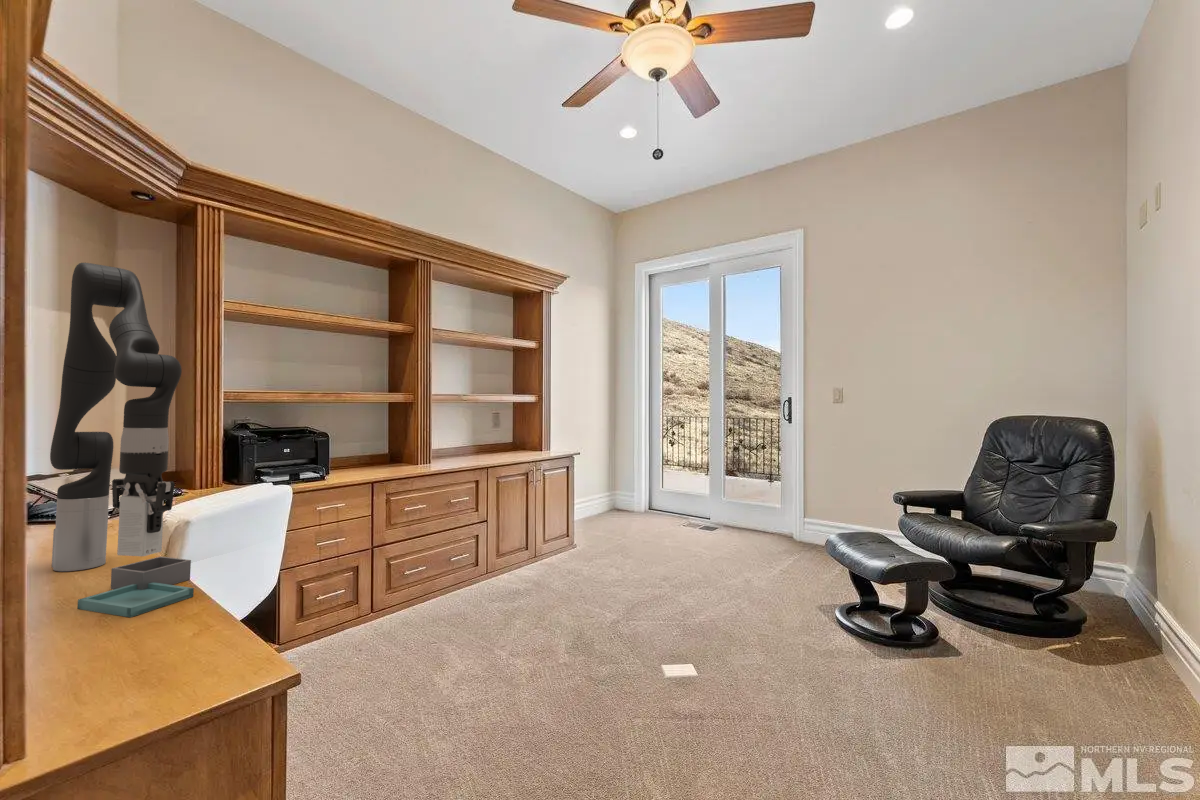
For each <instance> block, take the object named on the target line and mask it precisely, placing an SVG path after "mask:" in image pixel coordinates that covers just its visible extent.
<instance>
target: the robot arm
mask: <svg viewBox="0 0 1200 800" xmlns="http://www.w3.org/2000/svg"><path fill="white" fill-rule="evenodd" d="M94 305H95V306H102V307H111V308H122V310H121V311H120V312H119V313H117V314H116V315H115V316H114V317H113V319H112V320H111V322H110V324H109V329H108V330H109V331H108V332H109V336H110V339H111V341H112V343H113V346H114V349H115V351H114V349H113V348H112V347H111V345H110V343H109V342H108V341H107V340H106V338H105V337H104V336H103V334H102V333H101V331H100V330H99V328H98V326H97V324H96V321H95V319H94V315H93V306H94ZM146 308H147V307H146V305H145V299H144V295H143V290H142V287H141V282H140V280H139V278H138V276H137V275H136V274H135V273H134V272H133V271H131V270H128V269H125V268H121V267H114V266H110V265H109V266H108V265H104V264H98V263H96V264H95V263H89V262H80V263H77V264H76V266H75V268H74V269H73V272H72V277H71V288H70V312H69V313H70V315H69V316H70V317H69V330H68V337H67V343H66V349H65V354H64V359H63V360H64V361H63V365H62V366H63V367H62V376H61V387H60V400H59V405H58V407H59V408H58V413H57V417H56V418H57V419H56V421H55V426H54V432H53V436H52V440H51V446H50V452H49V453H50V455H49V456H50V457H49V458H50V464H51V466H52V467H53V468H54V469H56V470H60V471H63V470H64V471H65V470H86V469H87V470H88V469H89V470H91V472H90V473H89V474H87V475H85V476H83V477H81V478H80V479H77V480H75V481H71V482H68V483H65V484H62V485H59V486H58V488H57V491H56V510H55V512H56V515H55V528H54V529H53V532H52V533H53V534H52V535H53V537H52V553H51V554H52V556H51V568H52V569H53V571H55V572H73V571H83V570H88V569H93V568H97V567H101V566H102V565H105V564H106V561H107V560H106V559H107V547H108V546H107V544H108V542H107V541H108V525H109V524H108V523H109V522H108V521H109V503H110V502H109V501H110V484H111V487H112V488H111V489H112V490H111V491H112V494H111V495H112V496H111V497H112V508H113V509H118V511H119V510H120V496H140V498H142V504H144V503H146V504H147V511H148V514H149V515H147V533H155V532H159V531H160V530H161V524H162V513H163V514H164V513H165V512H169V511H171V510H172V508H173V499H174V493H175V484H176V483H175V482H174V481H164V479H163V477H162V474H163V473H166V472H167V470H168V464H169V463H168V462H169V444H170V443H169V441H170V438H169V437H170V436H169V428H168V427H169V413H170V406H171V403H172V400H173V396H174V393H175V391H176V389H177V387H178V385H179V382H180V380H181V377H182V369H183V368H182V365H181V363H180V361H179V360H178V359H177V357H175V356H173V355H169V354H159V353H160V345H159V341H158V339H157V338H156V335H155V333H154V332H153V329H152V328H151V325H150V323H149V319H148V314H147V310H146ZM115 352H116V353H115ZM117 381H118V382H119V383H120V384H121V385H122V384H123V385H124V386H126V387H127V386H128V387H133V388H134V387H136V388H137V387H138V388H139V387H140V388H155V389H154V391H153V392H152V394H151V395H149V396H147V397H138V398H132V399H129V400H127V401H126V402H125V403H124V405H123V406H124V407H123V408H124V409H123V422H122V423H123V426H122V433H121V438H120V448H119V449H120V451H119V452H120V453H119V473H120V474H123V475H125V476H124V477H122V478H113V479H112V481H111V471H112V463H113V455H114V439H113V436H112V434H111V433H110V432H107V431H76V430H77V427H79V424H80V422H81V421H82V419H84V417H85V416H86V415H87V414H88V412H89V411H90V410H91V409H93V408H94V407H96V405H98V404H100V402H101V401H102V400H104V398H106V397H107V396H108V395H109V394H110V393H111V392H112V390H113V389H114V387H115V385H116V382H117ZM155 495H156V498H153V499H149V498H148V497H149V496H155ZM163 500H164V501H165V504H164V505H163ZM152 503H155V508H154V507H153V504H152Z"/></svg>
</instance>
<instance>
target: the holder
mask: <svg viewBox="0 0 1200 800" xmlns="http://www.w3.org/2000/svg"><path fill="white" fill-rule="evenodd" d="M191 561H192V560H191V559H186V558H177V557H168V556H156V557H153V558H149V559H144V560H139V561H136V562H133V563H132V562H131V563H129V564H124V565H120V566H116V567H112V568H111V569H110V570H111V573H110V574H111V575H110V590H114V589H118V588H121V587H125V586H128V585H132V584H137V589H139V590H144V589H148V584H149V583H153V582H154V583H161V584H169V585H176V584H180V583H182V582H183V583H184V582H186V581H189V580H191V568H192V567H191V565H192V562H191Z"/></svg>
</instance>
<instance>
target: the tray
mask: <svg viewBox="0 0 1200 800" xmlns="http://www.w3.org/2000/svg"><path fill="white" fill-rule="evenodd" d="M194 589H195V588H194V587H189V586H181V585H176V584H173V585H169V584H161V583H154V582H153V583H149V584H148V589H144V590H139V589H137V584H132V585H128V586H125V587H121V588H118V589H114V590H113V589H110V590H108V591H103V592H100V593H96V594H94V595H93V594H92V595H89V596H86V597H83V598H79V599H77V610H82V611H89V612H95V613H102V614H107V615H113V616H119V617H120V616H121V617H126V618H133V617H136V616H139V615H142V614H145V613H148V612H152V611H154V610H157V609H161V608H163V607H166V606H169V605H172V604H176V603H178V602H180V601H181V602H182V601H185V600H188V599H191V598H192V597H194V592H195V591H194Z"/></svg>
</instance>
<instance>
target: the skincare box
mask: <svg viewBox="0 0 1200 800" xmlns="http://www.w3.org/2000/svg"><path fill="white" fill-rule="evenodd" d="M148 498H149V499H153V498H156V495H155V496H149V497H148ZM164 501H165V500H163V505H165V504H164ZM119 502H120V510H119V509H118V511H119V513H118V514H119V515H118V531H117V533H118V534H117V536H118V537H117V553H116V554H117V556H127V557H147V556H150V555H153V554H158V553H161V552H162V548H163V547H162V546H163V525H164V512H163V513H162V524H161V530H160V531H159V532H155V533H147V515H149V514H148V511H147V504H146V503H144V504H142V498H140V496H122V495H120V496H119ZM152 504H153V507H154V508H155V503H152Z"/></svg>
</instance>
